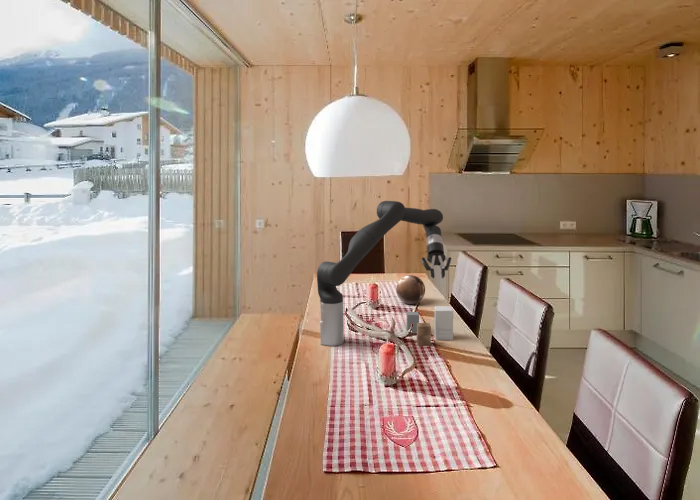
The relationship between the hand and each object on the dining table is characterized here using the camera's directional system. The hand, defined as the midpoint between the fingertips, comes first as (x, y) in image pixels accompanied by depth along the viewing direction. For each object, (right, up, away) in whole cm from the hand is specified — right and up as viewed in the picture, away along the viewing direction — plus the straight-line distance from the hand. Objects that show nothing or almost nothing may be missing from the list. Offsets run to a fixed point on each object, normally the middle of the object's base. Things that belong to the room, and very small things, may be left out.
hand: (438, 277), depth 235 cm
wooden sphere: (-7, -16, +42) cm, 46 cm away
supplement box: (0, -25, -15) cm, 29 cm away
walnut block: (-10, -26, -22) cm, 35 cm away
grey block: (-12, -23, -5) cm, 27 cm away
